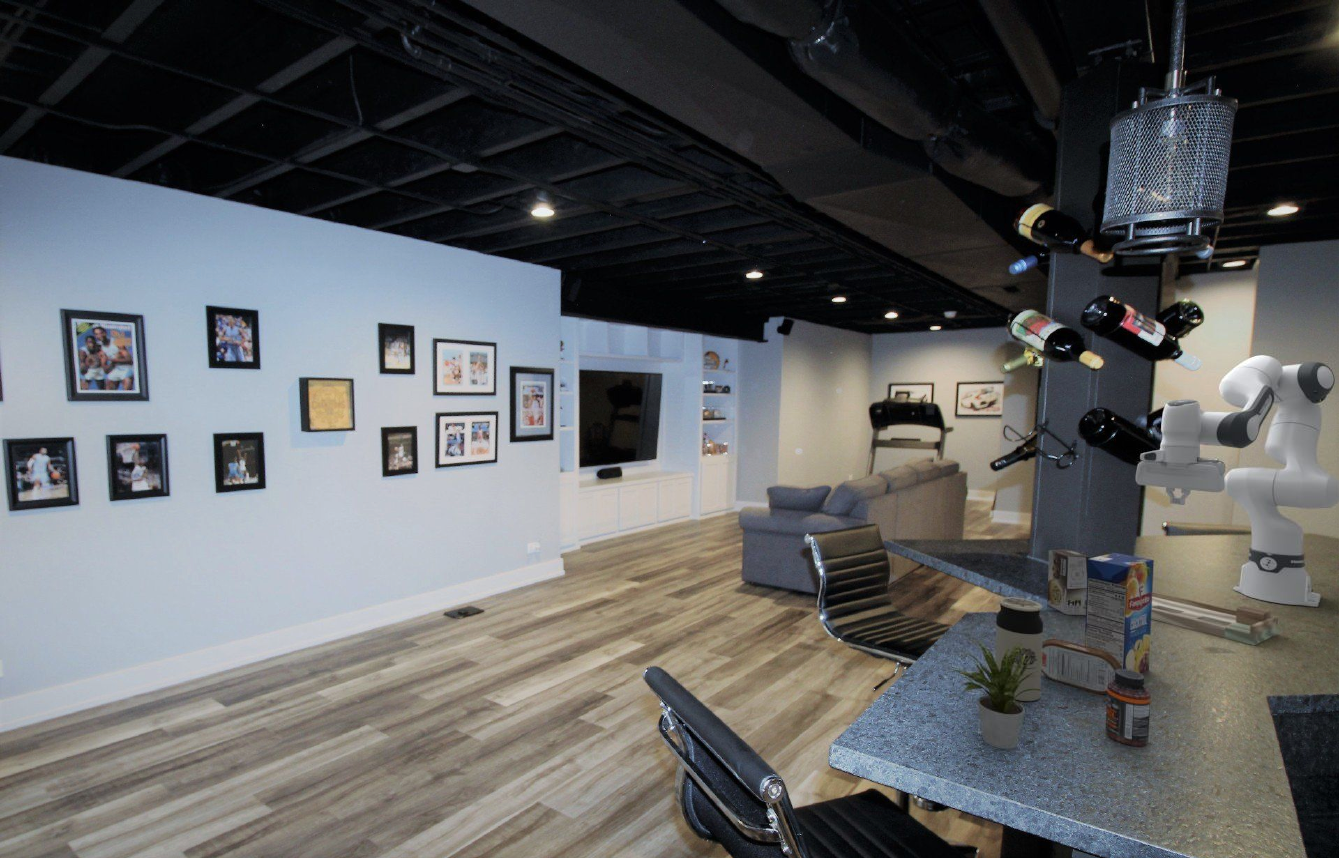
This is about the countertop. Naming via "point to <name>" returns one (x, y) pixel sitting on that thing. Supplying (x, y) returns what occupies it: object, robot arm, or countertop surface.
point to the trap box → (1210, 619)
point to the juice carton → (1120, 608)
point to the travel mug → (1021, 641)
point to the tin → (1078, 665)
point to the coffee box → (1067, 581)
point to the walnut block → (1251, 615)
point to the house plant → (999, 698)
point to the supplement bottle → (1128, 708)
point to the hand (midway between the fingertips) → (1177, 504)
